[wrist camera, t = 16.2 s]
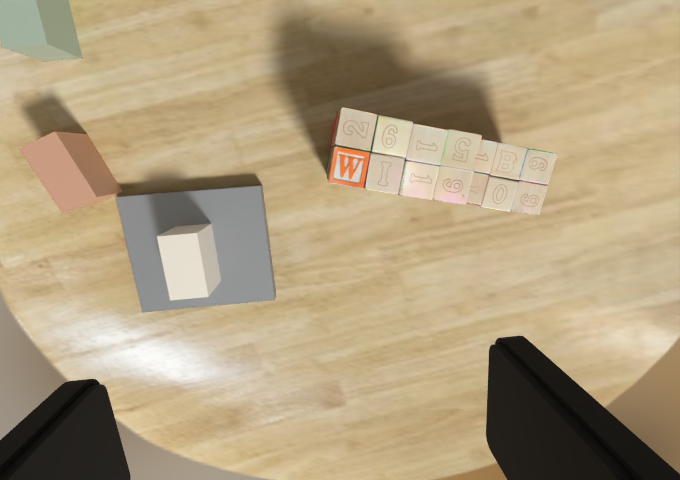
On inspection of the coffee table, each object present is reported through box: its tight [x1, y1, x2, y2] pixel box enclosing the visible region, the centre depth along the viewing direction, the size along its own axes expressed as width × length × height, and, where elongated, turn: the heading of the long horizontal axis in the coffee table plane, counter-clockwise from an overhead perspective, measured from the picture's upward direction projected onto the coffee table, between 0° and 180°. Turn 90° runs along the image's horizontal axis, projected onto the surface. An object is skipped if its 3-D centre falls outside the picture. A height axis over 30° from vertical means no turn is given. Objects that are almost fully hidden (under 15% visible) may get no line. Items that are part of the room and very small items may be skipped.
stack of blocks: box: [326, 107, 557, 215], centre depth 35 cm, size 21×6×12 cm, turn 80°
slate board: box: [116, 185, 276, 312], centre depth 41 cm, size 14×16×2 cm
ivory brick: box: [157, 223, 221, 300], centre depth 38 cm, size 7×4×5 cm, turn 4°
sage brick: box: [0, 0, 83, 62], centre depth 33 cm, size 7×4×5 cm, turn 5°
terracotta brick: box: [19, 131, 123, 213], centre depth 37 cm, size 7×4×5 cm, turn 24°
